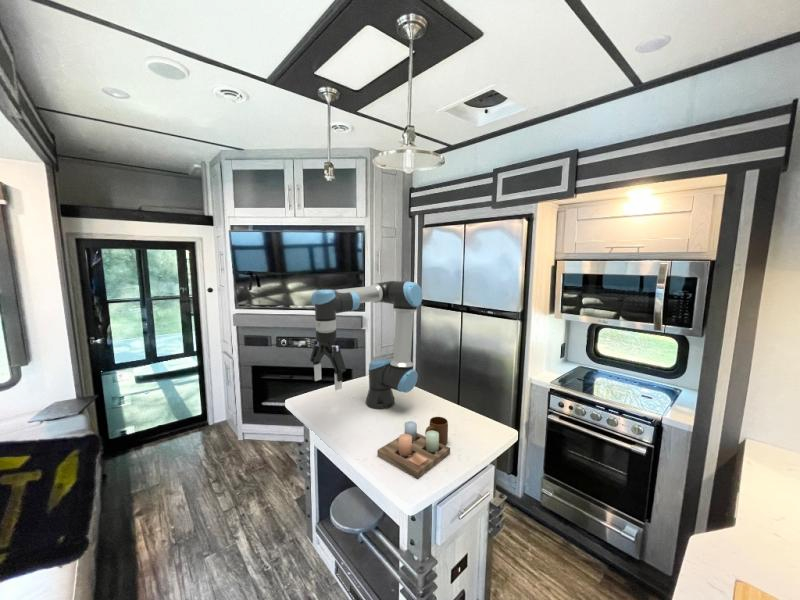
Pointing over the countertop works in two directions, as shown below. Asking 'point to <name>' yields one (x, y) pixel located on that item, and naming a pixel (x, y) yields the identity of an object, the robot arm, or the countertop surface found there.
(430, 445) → the pale green rounded cylinder
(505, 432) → the countertop surface
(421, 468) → the wooden compartment tray
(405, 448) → the peach rounded cylinder
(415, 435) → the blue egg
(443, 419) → the mug
